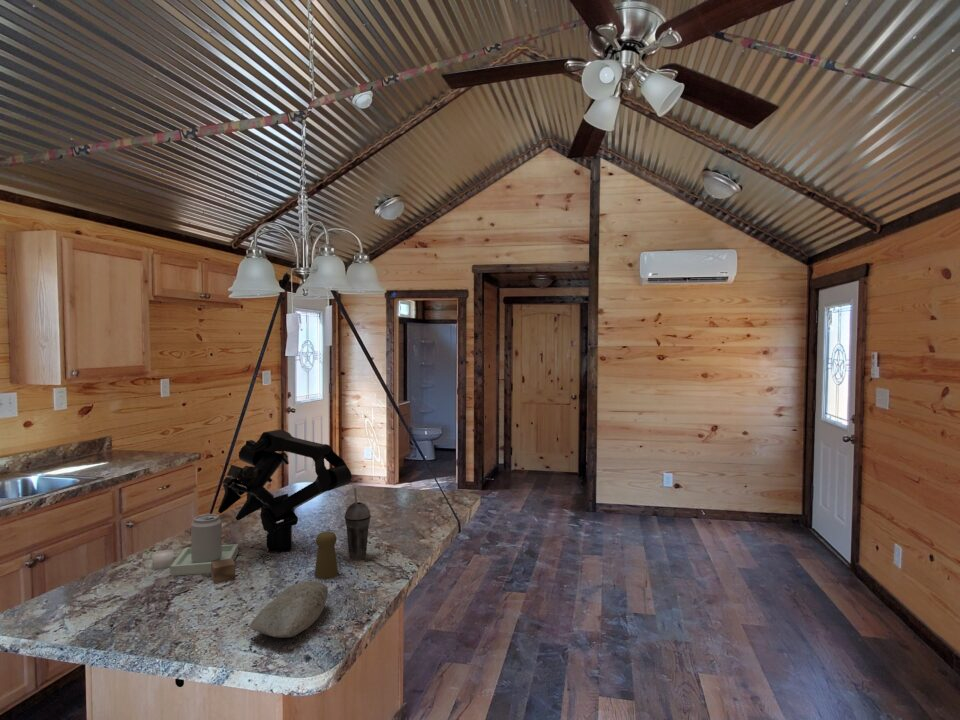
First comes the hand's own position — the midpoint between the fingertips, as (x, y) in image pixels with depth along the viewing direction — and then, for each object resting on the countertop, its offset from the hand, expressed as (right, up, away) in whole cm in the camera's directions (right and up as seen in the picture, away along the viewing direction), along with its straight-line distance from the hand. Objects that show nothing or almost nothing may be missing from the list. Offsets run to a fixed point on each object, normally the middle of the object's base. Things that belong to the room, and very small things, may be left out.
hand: (227, 516), depth 158 cm
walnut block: (+4, -13, -13) cm, 18 cm away
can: (-4, -11, -3) cm, 13 cm away
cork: (+30, -13, -10) cm, 34 cm away
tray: (-4, -12, -3) cm, 13 cm away
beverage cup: (+36, -12, +2) cm, 38 cm away
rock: (+31, -14, -37) cm, 50 cm away
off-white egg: (-15, -12, -5) cm, 20 cm away
